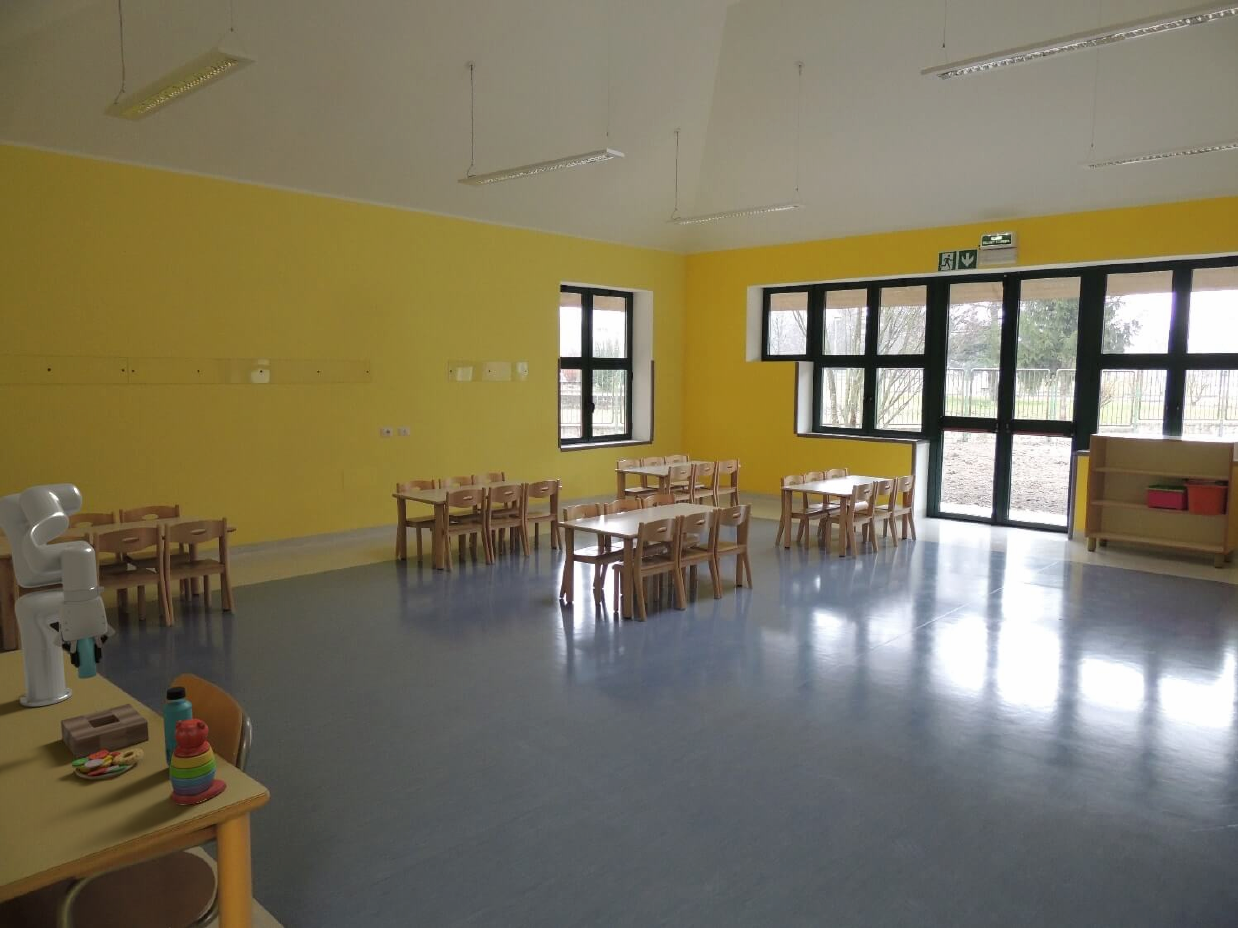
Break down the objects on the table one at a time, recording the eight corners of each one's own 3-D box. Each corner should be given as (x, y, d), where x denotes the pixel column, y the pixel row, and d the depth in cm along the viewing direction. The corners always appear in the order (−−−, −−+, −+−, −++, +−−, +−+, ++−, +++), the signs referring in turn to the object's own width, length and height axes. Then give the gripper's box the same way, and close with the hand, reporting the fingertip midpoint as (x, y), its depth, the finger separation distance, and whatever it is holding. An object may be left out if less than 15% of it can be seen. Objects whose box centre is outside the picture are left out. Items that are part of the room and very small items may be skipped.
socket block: (62, 738, 226) (60, 720, 225) (130, 721, 237) (129, 703, 236) (77, 759, 214) (76, 740, 213) (148, 739, 225) (147, 721, 225)
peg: (76, 675, 224) (73, 630, 223) (94, 671, 227) (90, 627, 226) (80, 679, 221) (76, 633, 220) (98, 675, 224) (94, 630, 223)
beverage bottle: (202, 764, 212) (197, 685, 209) (178, 776, 206) (173, 695, 203) (183, 759, 214) (179, 681, 212) (159, 770, 208) (154, 690, 206)
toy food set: (151, 760, 214) (150, 748, 214) (106, 786, 202) (105, 772, 201) (107, 754, 218) (106, 741, 217) (61, 778, 205) (59, 765, 205)
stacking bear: (230, 785, 202) (226, 711, 200) (205, 807, 192) (200, 730, 190) (186, 782, 203) (181, 709, 201) (159, 804, 193) (154, 728, 191)
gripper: (114, 586, 230) (119, 653, 232) (39, 598, 219) (45, 668, 221) (121, 591, 225) (126, 659, 227) (45, 603, 214) (51, 675, 216)
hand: (86, 663), depth 224 cm, fingers closed on peg, 4 cm apart
